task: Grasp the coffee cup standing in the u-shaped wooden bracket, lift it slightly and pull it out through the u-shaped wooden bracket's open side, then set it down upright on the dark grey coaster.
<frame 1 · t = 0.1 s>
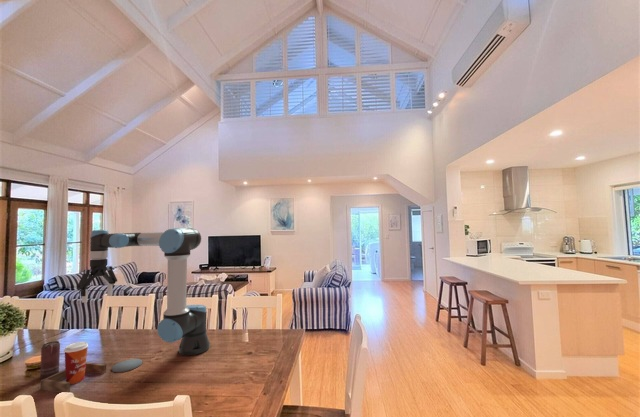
hand: (97, 299, 151), 28 cm above the table, fingers open, 13 cm apart
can: (49, 376, 127), on the table
coaster: (127, 366, 134), on the table
u-shaped wooden bracket: (75, 380, 122), on the table
coffee cup: (75, 381, 122), on the table
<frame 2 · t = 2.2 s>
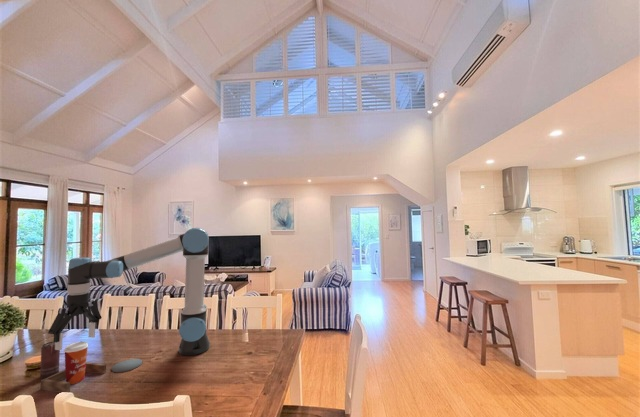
hand: (75, 343, 123), 16 cm above the table, fingers open, 13 cm apart
nothing on the table moved.
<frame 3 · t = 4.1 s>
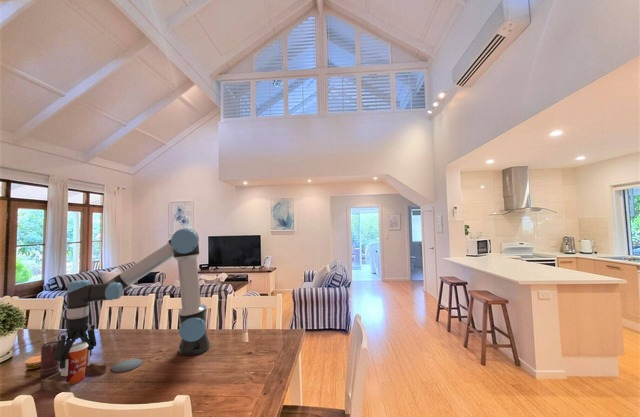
hand: (75, 370, 123), 4 cm above the table, fingers closed on coffee cup, 8 cm apart
coffee cup: (75, 380, 122), on the table, touching gripper
everything else where it was.
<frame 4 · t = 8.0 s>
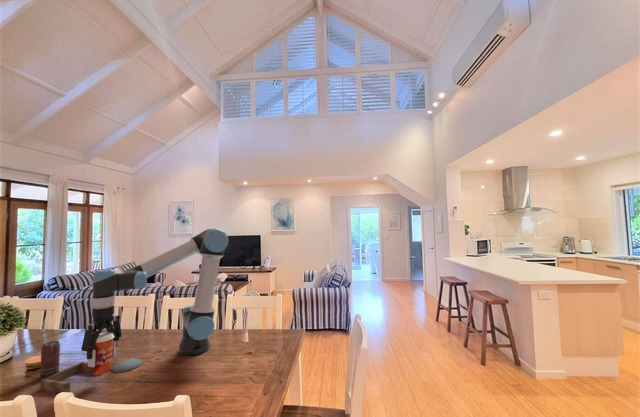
hand: (102, 361, 120), 9 cm above the table, fingers closed on coffee cup, 8 cm apart
coffee cup: (101, 372, 120), point 5 cm above the table, touching gripper
everything else where it was.
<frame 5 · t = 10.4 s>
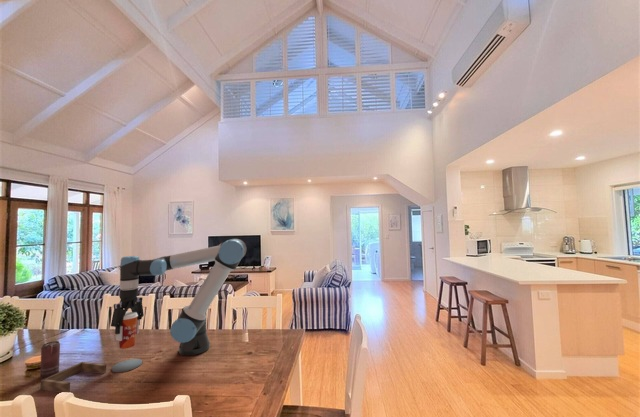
hand: (127, 336, 135), 14 cm above the table, fingers closed on coffee cup, 8 cm apart
coffee cup: (127, 346, 135), point 9 cm above the table, touching gripper
everything else where it was.
when the fingers open (6 cm above the table, at t = 12.0 s): coffee cup drops 1 cm, resting on coaster.
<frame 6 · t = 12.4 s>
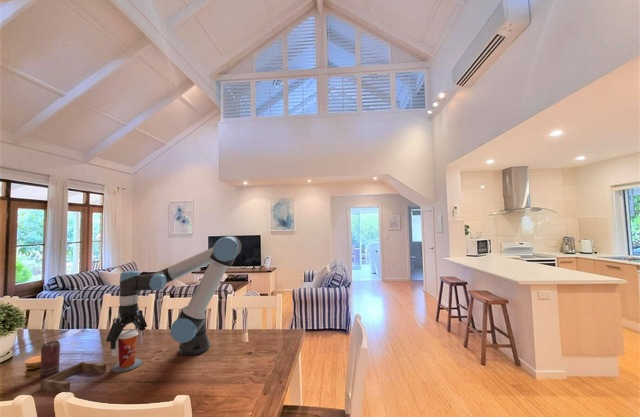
hand: (127, 349, 135), 8 cm above the table, fingers open, 13 cm apart
coffee cup: (127, 364, 135), resting on coaster
everything else where it was.
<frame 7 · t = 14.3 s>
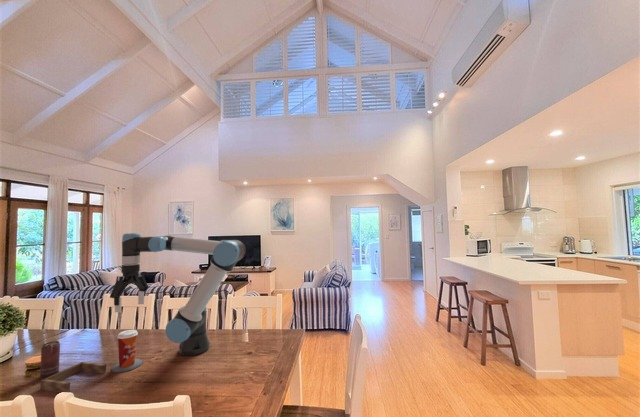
hand: (130, 308, 140), 26 cm above the table, fingers open, 13 cm apart
nothing on the table moved.
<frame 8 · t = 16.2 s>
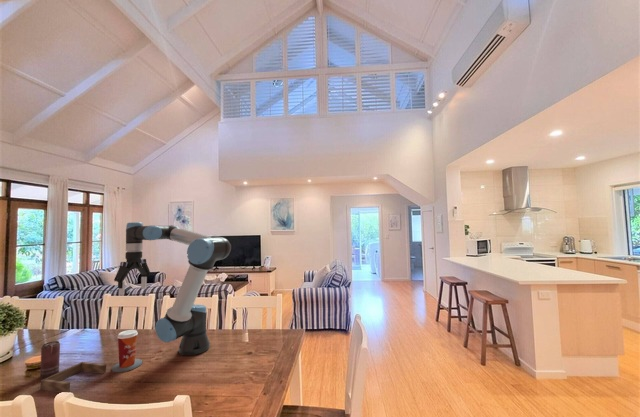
hand: (133, 291, 150), 32 cm above the table, fingers open, 13 cm apart
nothing on the table moved.
at the end: coffee cup inside the target area on the coaster (0.1 cm from its centre), point 0.4 cm above the coaster's base; coffee cup tilted 0°; the gripper is holding nothing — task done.
